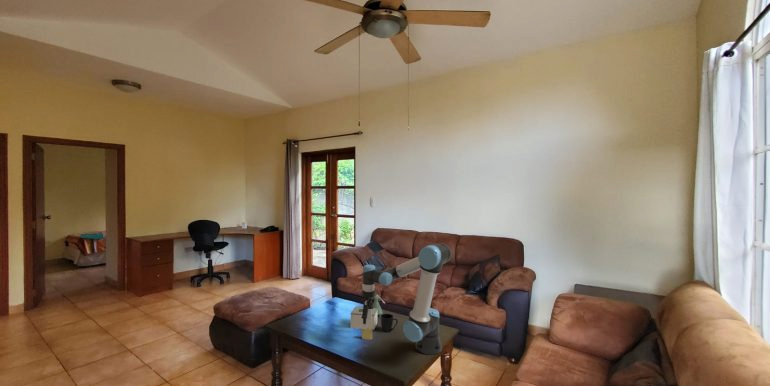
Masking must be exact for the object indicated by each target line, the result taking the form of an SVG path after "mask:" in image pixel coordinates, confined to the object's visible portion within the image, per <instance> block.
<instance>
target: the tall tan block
mask: <svg viewBox="0 0 770 386" xmlns="http://www.w3.org/2000/svg"><path fill="white" fill-rule="evenodd" d="M373 331H374V330H373V328H367V329H361V340H368V341H369V340H370V341H372V339H373Z"/></svg>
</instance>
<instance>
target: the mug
mask: <svg viewBox="0 0 770 386" xmlns="http://www.w3.org/2000/svg"><path fill="white" fill-rule="evenodd" d="M394 321H396V323H395V325H393V324H394ZM398 322H399V320H398V319H397V318H394V315H393V314H391V313H382V314H380V324H381V329H382V332H384V333H389V332H392V331H394V330H395V328H396V327H397V325H398Z"/></svg>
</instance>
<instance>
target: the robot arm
mask: <svg viewBox="0 0 770 386" xmlns="http://www.w3.org/2000/svg"><path fill="white" fill-rule="evenodd" d="M451 257H452V250H451V247H450V246H449V245H447V244H445V243H443V242H438V243H434V244H429V245H426V246H424V247H422V249H421V250H420V251H419V252H418V256H416V257H414V258H412V259H409V260H407V261H405V262H402V263H400V264H399V265H395V266H392V267H390V268H388V269H384V270H377V269H376V266H375V265H374V264H365V265H363V269H362V284H361V287H362V290H361V291H362V292H361V296H362V298H364V299H363V313H362V317H361V318H363V323H362V329H367V319H368V320H371V316H372V309H373V307H372V305H373V299H372V297H374V295H375V284H378V285H381V286H386V287H387V286H390V285H391V284H392V282H393V281H395V280H399V279H401V278H403V277H405V276H407V275H411V274H413V273H415V272H418V271H421V272H420V277H419V282H418V287H417V291H416V295H415V301H414V303H413V308H412V309H411V311H409V314H408V319H407V320H406V321H405V322H404V323H403V325H402V330H403V331H402V332H403V334H404V335H405V337H406V339H407V340H408V341H410V342H412V343H415V349H416V351H418V352H419V353H421V354H425V355H431V356H432V355H438V354H440V353H441V352H442V350H443V349H442V343H441V339H440V312H439V310H438V309H435V308H432V307H431V304H432V299H433V295H434V292H435V291H434V290H435V287H436V282H437V278H438V277H437V276H438V275H440V274H441V273H442V268H443V265H444V264H446V263H448V262H449V261H450V260H451ZM362 329H361V330H362Z"/></svg>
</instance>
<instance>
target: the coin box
mask: <svg viewBox="0 0 770 386" xmlns="http://www.w3.org/2000/svg"><path fill="white" fill-rule="evenodd" d="M377 312H378V309H377V308H373V309H372V316H371V320H368V319H367V328H373V331H375V330H376V329H375V328H376V326H377V324H378V317H377ZM362 313H363V307H362V306H361V307H360V306H355V307H354V308H353V309H352V311H351V312H350V329H358V330H362V323H363V318H361V317H362Z"/></svg>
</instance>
